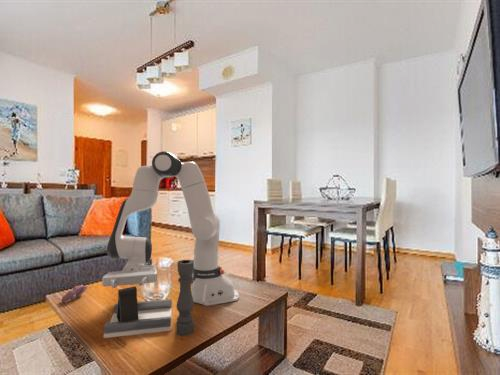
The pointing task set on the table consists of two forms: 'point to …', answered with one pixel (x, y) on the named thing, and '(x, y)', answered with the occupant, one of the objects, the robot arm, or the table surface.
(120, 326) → the track rails
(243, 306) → the table surface
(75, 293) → the video game controller
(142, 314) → the track base
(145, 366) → the table surface
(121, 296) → the phone stand
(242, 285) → the table surface
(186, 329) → the candle holder
